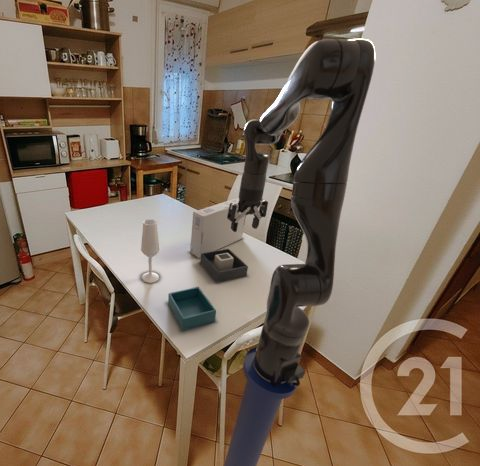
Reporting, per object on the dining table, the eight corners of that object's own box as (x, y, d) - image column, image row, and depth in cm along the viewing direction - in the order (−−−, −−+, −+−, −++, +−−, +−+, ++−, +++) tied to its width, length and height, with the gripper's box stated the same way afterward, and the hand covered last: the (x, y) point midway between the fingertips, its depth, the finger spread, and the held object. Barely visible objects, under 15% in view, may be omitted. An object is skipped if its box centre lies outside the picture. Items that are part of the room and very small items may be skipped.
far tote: (246, 275, 104) (248, 266, 102) (217, 282, 100) (218, 272, 98) (227, 257, 116) (228, 248, 114) (200, 262, 112) (201, 253, 110)
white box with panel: (232, 269, 107) (234, 257, 104) (219, 272, 105) (220, 260, 103) (226, 263, 111) (227, 252, 108) (213, 266, 109) (215, 254, 106)
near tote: (214, 321, 83) (216, 310, 81) (182, 330, 80) (183, 319, 78) (197, 296, 93) (198, 286, 91) (168, 303, 90) (168, 293, 88)
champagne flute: (159, 272, 105) (160, 218, 94) (158, 283, 99) (158, 226, 88) (143, 271, 106) (142, 217, 95) (140, 282, 100) (138, 225, 89)
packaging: (232, 233, 136) (238, 197, 127) (242, 238, 132) (249, 201, 122) (189, 252, 120) (192, 211, 110) (199, 258, 115) (203, 216, 106)
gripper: (240, 191, 81) (232, 237, 88) (278, 187, 85) (267, 231, 93) (227, 184, 87) (221, 227, 95) (263, 180, 91) (254, 222, 99)
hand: (244, 229), depth 94 cm, fingers open, 8 cm apart
